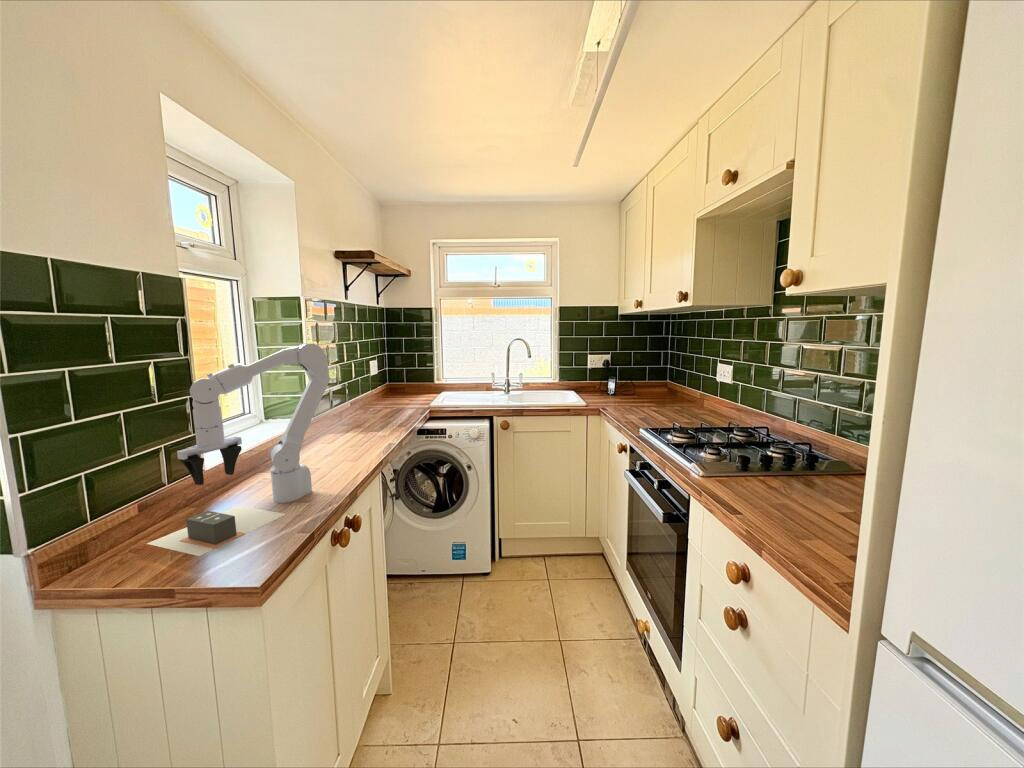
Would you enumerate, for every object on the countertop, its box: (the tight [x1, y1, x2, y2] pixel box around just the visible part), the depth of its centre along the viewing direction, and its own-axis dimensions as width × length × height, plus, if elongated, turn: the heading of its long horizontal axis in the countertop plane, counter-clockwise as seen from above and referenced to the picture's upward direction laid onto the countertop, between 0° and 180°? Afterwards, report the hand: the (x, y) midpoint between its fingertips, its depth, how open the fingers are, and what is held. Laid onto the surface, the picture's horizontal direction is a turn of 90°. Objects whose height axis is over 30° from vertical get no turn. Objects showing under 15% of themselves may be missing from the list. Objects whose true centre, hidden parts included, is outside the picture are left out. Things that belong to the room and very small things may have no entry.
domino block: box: [185, 510, 237, 545], centre depth 93 cm, size 9×5×5 cm, turn 69°
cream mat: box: [146, 505, 287, 557], centre depth 98 cm, size 21×17×1 cm
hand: (215, 479), depth 106 cm, fingers open, 7 cm apart
